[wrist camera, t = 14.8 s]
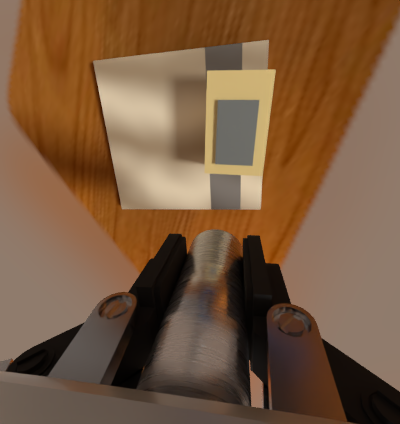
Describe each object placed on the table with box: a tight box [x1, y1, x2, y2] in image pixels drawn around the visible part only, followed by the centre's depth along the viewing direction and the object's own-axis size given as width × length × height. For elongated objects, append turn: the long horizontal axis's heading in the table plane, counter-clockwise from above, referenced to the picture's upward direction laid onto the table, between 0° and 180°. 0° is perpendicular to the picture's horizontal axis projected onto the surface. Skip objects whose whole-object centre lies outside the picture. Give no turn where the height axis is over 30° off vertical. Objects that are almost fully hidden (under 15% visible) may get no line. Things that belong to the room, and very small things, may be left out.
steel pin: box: [136, 230, 251, 407], centre depth 7 cm, size 3×3×9 cm
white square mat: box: [93, 40, 269, 209], centre depth 21 cm, size 14×15×1 cm
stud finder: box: [204, 70, 276, 176], centre depth 17 cm, size 7×4×4 cm, turn 178°
